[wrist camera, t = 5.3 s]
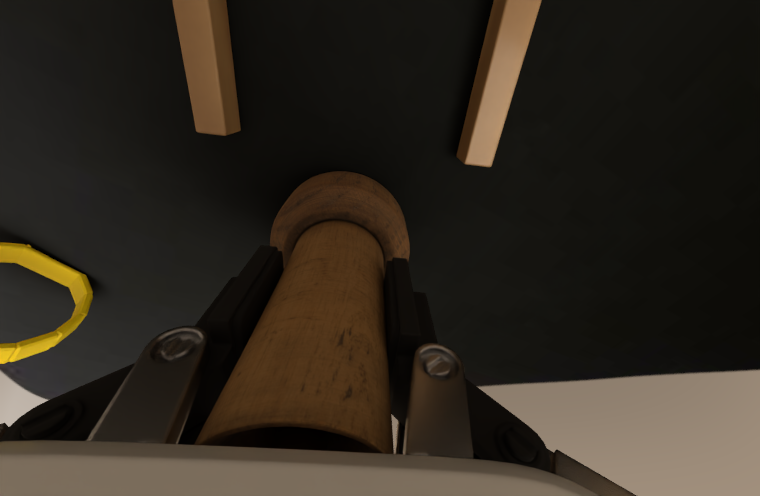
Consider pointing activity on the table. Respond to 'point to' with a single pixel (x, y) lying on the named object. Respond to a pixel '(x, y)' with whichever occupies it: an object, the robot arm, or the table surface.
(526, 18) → the frame
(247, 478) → the robot arm
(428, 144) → the table surface
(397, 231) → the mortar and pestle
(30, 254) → the watch
